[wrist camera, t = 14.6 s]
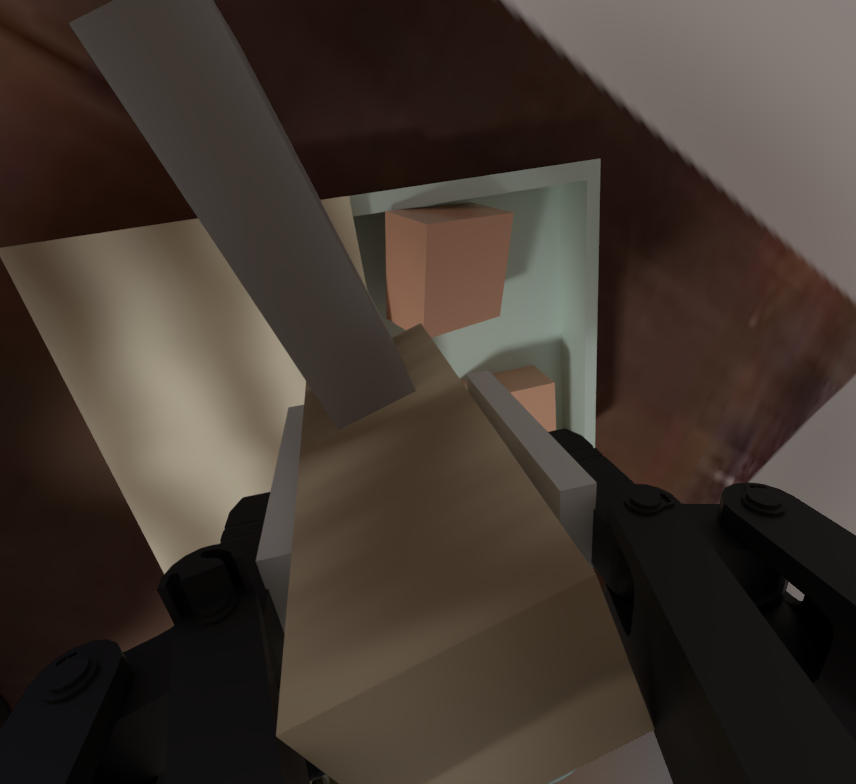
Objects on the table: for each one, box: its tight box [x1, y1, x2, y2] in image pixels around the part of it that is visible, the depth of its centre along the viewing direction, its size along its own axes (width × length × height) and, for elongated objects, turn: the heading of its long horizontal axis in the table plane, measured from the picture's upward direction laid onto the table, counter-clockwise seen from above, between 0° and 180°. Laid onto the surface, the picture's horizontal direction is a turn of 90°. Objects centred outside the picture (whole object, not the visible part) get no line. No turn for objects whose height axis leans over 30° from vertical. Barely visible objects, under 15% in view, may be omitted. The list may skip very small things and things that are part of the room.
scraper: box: [69, 0, 654, 784], centre depth 10 cm, size 4×20×10 cm, turn 24°
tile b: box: [385, 202, 514, 338], centre depth 25 cm, size 6×6×4 cm
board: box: [0, 196, 367, 574], centre depth 27 cm, size 16×20×5 cm
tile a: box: [462, 365, 556, 432], centre depth 32 cm, size 6×6×4 cm
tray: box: [349, 158, 601, 448], centre depth 30 cm, size 14×20×4 cm
